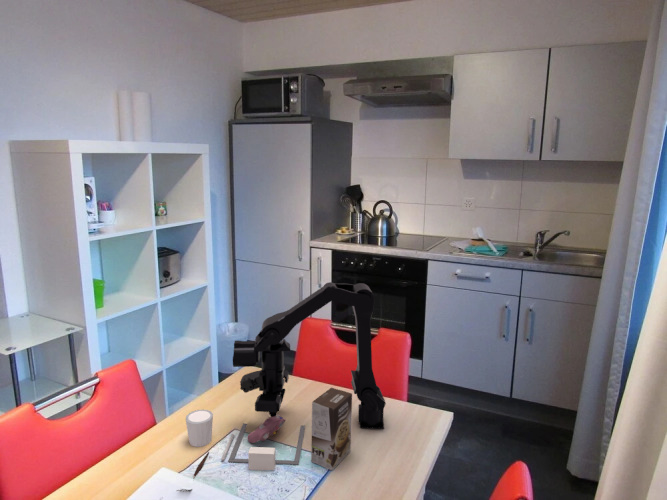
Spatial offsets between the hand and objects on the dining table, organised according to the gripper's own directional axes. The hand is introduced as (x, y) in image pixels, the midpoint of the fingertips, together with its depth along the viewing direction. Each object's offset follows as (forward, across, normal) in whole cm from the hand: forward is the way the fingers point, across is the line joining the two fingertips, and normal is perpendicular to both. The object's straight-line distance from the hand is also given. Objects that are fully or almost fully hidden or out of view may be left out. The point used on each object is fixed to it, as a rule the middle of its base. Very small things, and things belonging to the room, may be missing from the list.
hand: (273, 417), depth 130 cm
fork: (+3, +20, -15) cm, 25 cm away
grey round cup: (+3, +8, -18) cm, 20 cm away
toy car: (+3, +5, -1) cm, 6 cm away
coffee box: (+3, +12, +17) cm, 21 cm away
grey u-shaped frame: (+3, +9, -1) cm, 9 cm away
